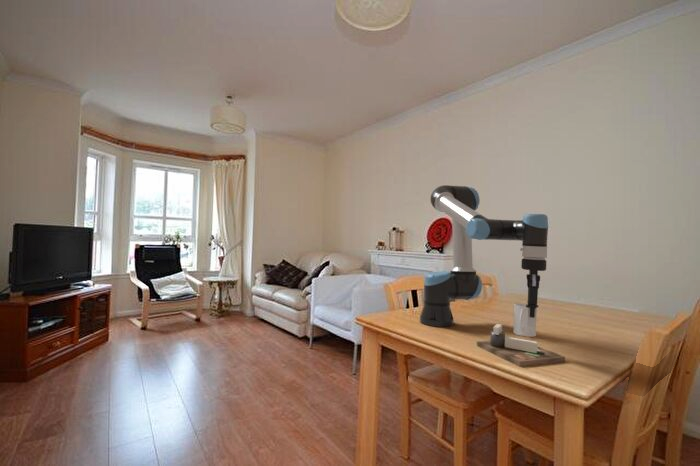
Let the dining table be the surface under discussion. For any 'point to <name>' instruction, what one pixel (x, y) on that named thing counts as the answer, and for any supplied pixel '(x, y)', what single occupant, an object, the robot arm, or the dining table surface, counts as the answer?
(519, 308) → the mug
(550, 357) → the board
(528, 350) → the peg lever
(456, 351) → the dining table surface
